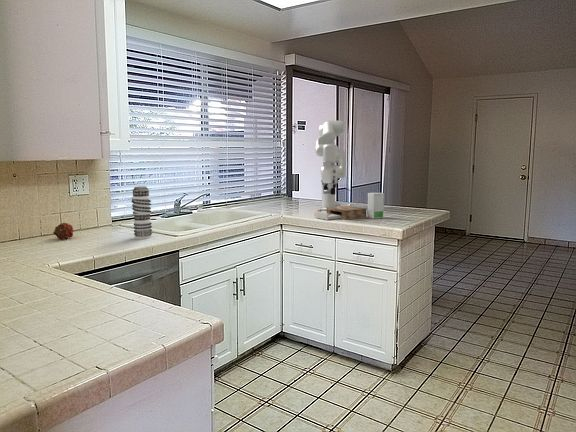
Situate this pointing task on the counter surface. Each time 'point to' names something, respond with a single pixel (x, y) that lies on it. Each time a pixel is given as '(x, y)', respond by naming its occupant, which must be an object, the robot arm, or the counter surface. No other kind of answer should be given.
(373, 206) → the skincare box
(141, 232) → the decorative candle
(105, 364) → the counter surface
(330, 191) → the disc
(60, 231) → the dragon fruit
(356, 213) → the housing
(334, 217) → the tray
